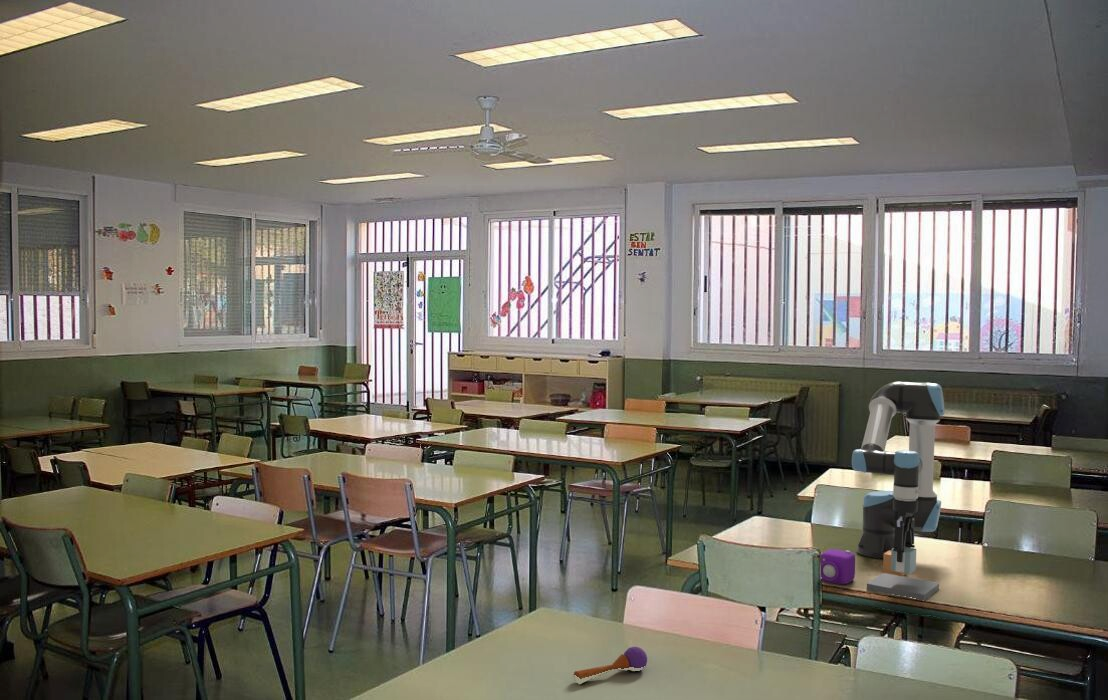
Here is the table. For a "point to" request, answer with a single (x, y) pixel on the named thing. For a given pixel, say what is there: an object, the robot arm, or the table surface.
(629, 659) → the purple and brown microphone
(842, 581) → the toy camera
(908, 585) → the base plate
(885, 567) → the orange brick
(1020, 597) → the table surface
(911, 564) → the teal brick
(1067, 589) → the table surface
